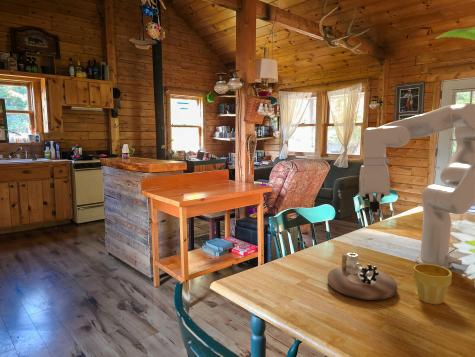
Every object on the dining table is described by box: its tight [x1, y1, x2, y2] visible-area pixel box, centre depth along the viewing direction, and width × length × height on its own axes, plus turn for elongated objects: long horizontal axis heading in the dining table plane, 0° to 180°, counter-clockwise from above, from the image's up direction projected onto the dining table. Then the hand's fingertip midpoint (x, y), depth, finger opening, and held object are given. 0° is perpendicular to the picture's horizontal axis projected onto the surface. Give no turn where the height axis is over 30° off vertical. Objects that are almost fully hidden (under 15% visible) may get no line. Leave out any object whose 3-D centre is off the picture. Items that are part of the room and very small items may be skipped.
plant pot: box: [412, 263, 453, 305], centre depth 104 cm, size 10×10×10 cm
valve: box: [346, 252, 379, 285], centre depth 114 cm, size 7×7×12 cm
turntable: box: [327, 253, 398, 301], centre depth 112 cm, size 22×22×7 cm
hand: (374, 211), depth 123 cm, fingers closed
